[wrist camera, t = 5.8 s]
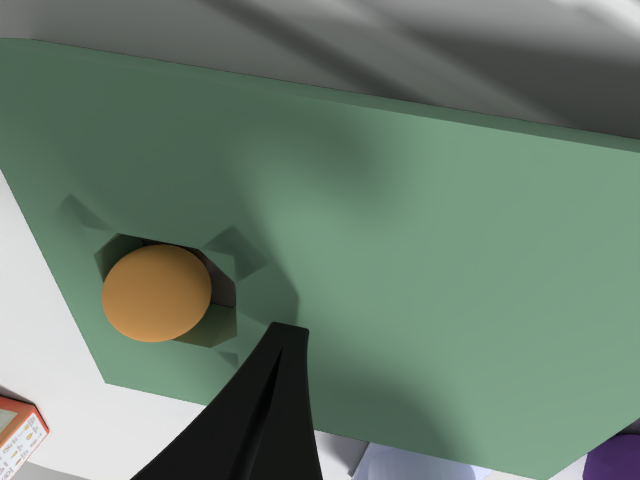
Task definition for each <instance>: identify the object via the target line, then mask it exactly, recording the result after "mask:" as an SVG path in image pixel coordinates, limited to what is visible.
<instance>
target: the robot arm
mask: <svg viewBox="0 0 640 480" xmlns="http://www.w3.org/2000/svg"><path fill="white" fill-rule="evenodd" d="M309 333H310V331H309V330H308V329H307V328H304V327H299V326H294V325H289V324H284V323H279V322H272V323H270V325H269V327H268V329H267V330H266V332H265V333H264V335H263V337H262V338H261V340H260V341H259V343H258V344H257V345H256V347H255V348H254V350H253V351H252V352H251V354H250V355H249V356H248V358H247V359H246V360H245V362H244V363H243V364H242V365H241V367H240V368H239V369H238V371H237V372H236V373H235V374H234V376H233V377H232V378H231V379H230V380H229V382H228V383H227V384H226V385H225V386H224V387H223V389H222V390H221V391H220V392H219V393H218V394H217V396H216V397H215V398H214V399H213V400H212V401H211V402H210V403H209V404H208V406H207V407H206V408H205V409H204V410H203V411H202V412H201V413H200V414H199V415H198V416H197V417H196V418H195V419H194V420H193V421H192V422H191V423H190V424H189V425H188V426H187V427H186V428H185V429H184V430H183V431H182V432H181V433H180V434H179V435H178V436H177V437H176V438H175V439H174V440H173V441H172V442H171V443H170V444H169V445H168V446H167V447H166V448H165V449H164V450H163V451H162V452H160V453H159V454H158V455H157V456H156V457H155V458H154V459H153V460H152V461H151V462H150V463H148V464H147V465H146V466H145V467H144V468H143V469H142V470H140V471H139V472H138V473H137V474H136V475H135V476H133V477H132V478H131V479H130V480H323V477H322V473H321V468H320V463H319V458H318V452H317V447H316V441H315V435H314V428H313V422H312V414H311V406H310V397H309V385H308V369H307V349H308V339H309ZM492 471H493V470H492V469H487V468H483V467H478V466H474V465H469V464H465V463H460V462H456V461H451V460H447V459H443V458H438V457H434V456H429V455H425V454H420V453H416V452H411V451H407V450H402V449H398V448H393V447H389V446H384V445H380V444H376V443H371V442H370V443H369V445H368V447H367V449H366V451H365V453H364V455H363V457H362V459H361V461H360V463H359V465H358V467H357V469H356V471H355V473H354V475H353V477H352V479H351V480H483V479H484V478H485V477H486V476H487V475H489V474H490V473H491V472H492Z"/></svg>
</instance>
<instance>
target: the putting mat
mask: <svg viewBox="0 0 640 480" xmlns="http://www.w3.org/2000/svg"><path fill="white" fill-rule="evenodd" d="M0 169H1V171H2V173H3V175H4V177H5V179H6V181H7V183H8V185H9V187H10V189H11V191H12V193H13V195H14V197H15V199H16V201H17V203H18V205H19V207H20V210H21V212H22V214H23V216H24V218H25V220H26V222H27V224H28V226H29V228H30V230H31V232H32V234H33V236H34V238H35V240H36V242H37V244H38V246H39V248H40V250H41V252H42V254H43V256H44V259H45V261H46V263H47V265H48V267H49V269H50V271H51V273H52V275H53V277H54V279H55V281H56V283H57V285H58V287H59V289H60V291H61V293H62V295H63V297H64V299H65V301H66V304H67V306H68V308H69V310H70V312H71V314H72V316H73V318H74V320H75V322H76V324H77V326H78V328H79V330H80V332H81V334H82V336H83V338H84V340H85V342H86V344H87V346H88V348H89V350H90V353H91V355H92V357H93V359H94V361H95V363H96V365H97V367H98V369H99V371H100V373H101V375H102V377H103V379H104V381H105V383H107V384H112V385H116V386H121V387H125V388H130V389H134V390H139V391H143V392H148V393H152V394H157V395H161V396H166V397H170V398H175V399H179V400H183V401H188V402H192V403H197V404H201V405H206V406H208V404H209V403H210V402H211V401H212V400H213V399H214V398H215V397H216V396H217V394H218V393H219V392H220V391H221V390H222V389H223V387H224V386H225V385H226V384H227V383H228V382H229V380H230V379H231V378H232V377H233V376H234V374H235V373H236V372H237V371H238V369H239V368H240V367H241V365H242V364H243V363H244V362H245V360H246V359H247V358H248V356H249V355H250V354H251V352H252V351H253V350H254V348H255V347H256V345H257V344H258V343H259V341H260V340H261V338H262V337H263V335H264V333H265V332H266V330H267V329H268V327H269V325H270V323H272V322H279V323H284V324H289V325H294V326H299V327H304V328H307V329H308V330H309V331H310V333H309V339H308V349H307V369H308V385H309V397H310V406H311V414H312V422H313V428H314V430H317V431H322V432H326V433H331V434H335V435H340V436H344V437H349V438H353V439H358V440H362V441H367V442H371V443H376V444H380V445H384V446H389V447H393V448H398V449H402V450H407V451H411V452H416V453H420V454H425V455H429V456H434V457H438V458H443V459H447V460H451V461H456V462H460V463H465V464H469V465H474V466H478V467H483V468H487V469H492V470H496V471H501V472H505V473H510V474H514V475H518V476H523V477H527V478H532V479H536V480H548V479H550V478H551V477H553V476H554V475H556V474H557V473H559V472H560V471H561V470H563V469H564V468H566V467H567V466H569V465H570V464H572V463H573V462H575V461H576V460H578V459H579V458H581V457H582V456H584V455H585V454H587V453H588V452H590V451H591V450H593V449H594V448H596V447H597V446H599V445H600V444H602V443H603V442H605V441H606V440H608V439H609V438H610V437H612V436H613V435H615V434H616V433H618V432H619V431H621V430H622V429H624V428H625V427H627V426H628V425H630V424H631V423H633V422H634V421H636V420H637V419H639V418H640V140H639V139H633V138H627V137H621V136H615V135H609V134H603V133H597V132H591V131H585V130H579V129H573V128H567V127H561V126H554V125H548V124H542V123H536V122H530V121H524V120H518V119H512V118H506V117H500V116H494V115H488V114H482V113H476V112H470V111H464V110H457V109H451V108H445V107H439V106H433V105H427V104H421V103H415V102H409V101H403V100H397V99H391V98H385V97H379V96H373V95H367V94H360V93H354V92H348V91H342V90H336V89H330V88H324V87H318V86H312V85H306V84H300V83H294V82H288V81H282V80H276V79H270V78H263V77H257V76H251V75H245V74H239V73H233V72H227V71H221V70H215V69H209V68H203V67H197V66H191V65H185V64H179V63H173V62H166V61H160V60H154V59H148V58H142V57H136V56H130V55H124V54H118V53H112V52H106V51H100V50H94V49H88V48H82V47H76V46H69V45H63V44H57V43H51V42H45V41H39V40H33V39H18V38H0ZM141 238H146V239H151V240H156V241H161V242H166V243H171V244H176V245H181V246H186V247H192V248H197V249H199V250H200V251H201V252H202V253H203V254H204V255H205V256H207V257H208V258H209V259H210V260H211V261H212V262H213V263H214V264H215V265H216V266H217V267H218V268H219V269H220V270H221V271H222V272H223V273H225V274H226V275H227V276H228V277H229V278H230V279H231V280H232V281H233V282H234V283H235V290H236V306H235V307H233V308H231V307H227V306H222V305H217V304H212V303H209V306H208V308H207V310H206V312H205V314H204V315H203V317H202V318H201V319H200V321H199V322H198V323H197V324H196V325H195V326H194V327H193V328H191V329H190V330H189V331H187V332H186V333H184V334H182V335H181V336H178V337H176V338H174V339H170V340H167V341H162V342H142V341H137V340H134V339H131V338H129V337H127V336H125V335H123V334H122V333H120V332H119V331H117V330H116V329H115V328H114V327H113V326H112V325H111V323H110V322H109V320H108V319H107V317H106V315H105V313H104V310H103V305H102V289H103V285H104V282H105V280H106V277H107V275H108V274H109V272H110V270H111V269H112V268H113V267H114V265H115V264H116V263H117V262H118V261H119V260H120V259H122V258H123V257H124V256H126V255H127V254H129V253H131V252H132V251H134V250H137V249H139V248H142V247H143V243H142V239H141Z"/></svg>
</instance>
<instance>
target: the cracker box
mask: <svg viewBox="0 0 640 480" xmlns="http://www.w3.org/2000/svg"><path fill="white" fill-rule="evenodd" d="M48 433H49V430H48V428H47V427H46V425H45V423H44V422H43V420H42V418H41V417H40V415H39V413H38V411H37V409H36V408H35V406H33V405H30V404H26V403H23V402H19V401H15V400H12V399H8V398H5V397H1V396H0V480H10V479H11V478H12V477H13V476H14V475H15V474H16V472H17V471H18V470H19V469H20V468H21V466H22V465H23V464H24V463H25V461H26V460H27V459H28V458H29V456H30V455H31V454H32V453H33V451H34V450H35V449H36V448H37V447H38V446H39V444H40V443H41V442H42V441H43V439H44V438H45V437H46V436H47V435H48Z"/></svg>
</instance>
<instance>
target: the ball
mask: <svg viewBox="0 0 640 480" xmlns="http://www.w3.org/2000/svg"><path fill="white" fill-rule="evenodd" d="M211 292H212V285H211V279H210V276H209V273H208V271H207V269H206V267H205V266H204V264H203V263H202V262H201V261H200V260H199V259H198V258H197V257H196V256H195V255H194V254H192V253H191V252H189V251H187V250H185V249H183V248H180V247H177V246H172V245H164V244H159V245H150V246H146V247H142V248H139V249H137V250H134V251H132V252H131V253H129V254H127V255H126V256H124V257H123V258H122V259H120V260H119V261H118V262H117V263H116V264H115V265H114V267H113V268H112V269H111V270H110V272H109V274H108V275H107V277H106V280H105V282H104V285H103V289H102V305H103V310H104V313H105V315H106V317H107V319H108V320H109V322H110V323H111V325H112V326H113V327H114V328H115V329H116V330H117V331H119V332H120V333H122V334H123V335H125V336H127V337H129V338H131V339H134V340H137V341H142V342H162V341H167V340H170V339H174V338H176V337H178V336H181V335H182V334H184V333H186V332H187V331H189V330H190V329H191V328H193V327H194V326H195V325H196V324H197V323H198V322H199V321H200V319H201V318H202V317H203V315H204V314H205V312H206V310H207V308H208V306H209V303H210V299H211Z"/></svg>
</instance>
